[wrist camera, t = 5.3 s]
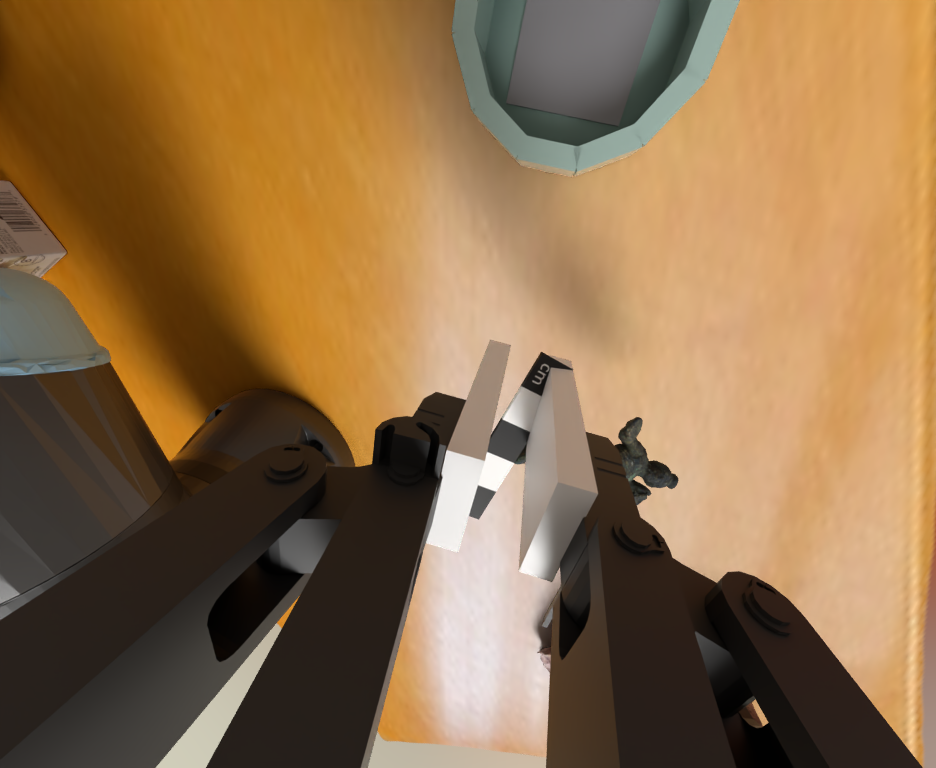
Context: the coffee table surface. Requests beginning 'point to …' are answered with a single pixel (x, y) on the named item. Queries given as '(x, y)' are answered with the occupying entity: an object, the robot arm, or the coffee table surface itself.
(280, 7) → the coffee table surface
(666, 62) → the bowl
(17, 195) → the coffee box
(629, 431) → the figurine
